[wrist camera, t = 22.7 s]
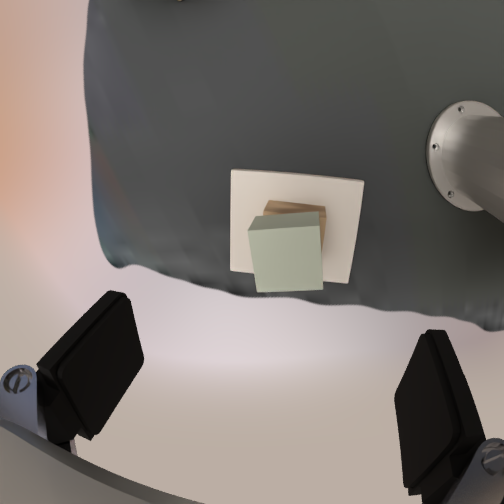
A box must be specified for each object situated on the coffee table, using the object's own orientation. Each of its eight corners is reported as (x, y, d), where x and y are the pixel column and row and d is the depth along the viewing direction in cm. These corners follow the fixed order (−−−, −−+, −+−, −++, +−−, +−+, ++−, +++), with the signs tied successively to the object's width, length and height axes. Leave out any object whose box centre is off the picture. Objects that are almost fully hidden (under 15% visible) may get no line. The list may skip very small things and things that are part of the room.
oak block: (325, 206, 33) (326, 218, 29) (318, 257, 35) (318, 274, 31) (268, 200, 33) (263, 210, 30) (265, 251, 36) (259, 267, 32)
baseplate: (362, 180, 32) (364, 182, 31) (347, 279, 37) (347, 283, 36) (233, 168, 34) (231, 170, 33) (232, 266, 39) (230, 270, 38)
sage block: (318, 211, 29) (319, 225, 25) (322, 269, 31) (323, 289, 28) (255, 216, 30) (247, 230, 27) (263, 271, 32) (257, 292, 29)
